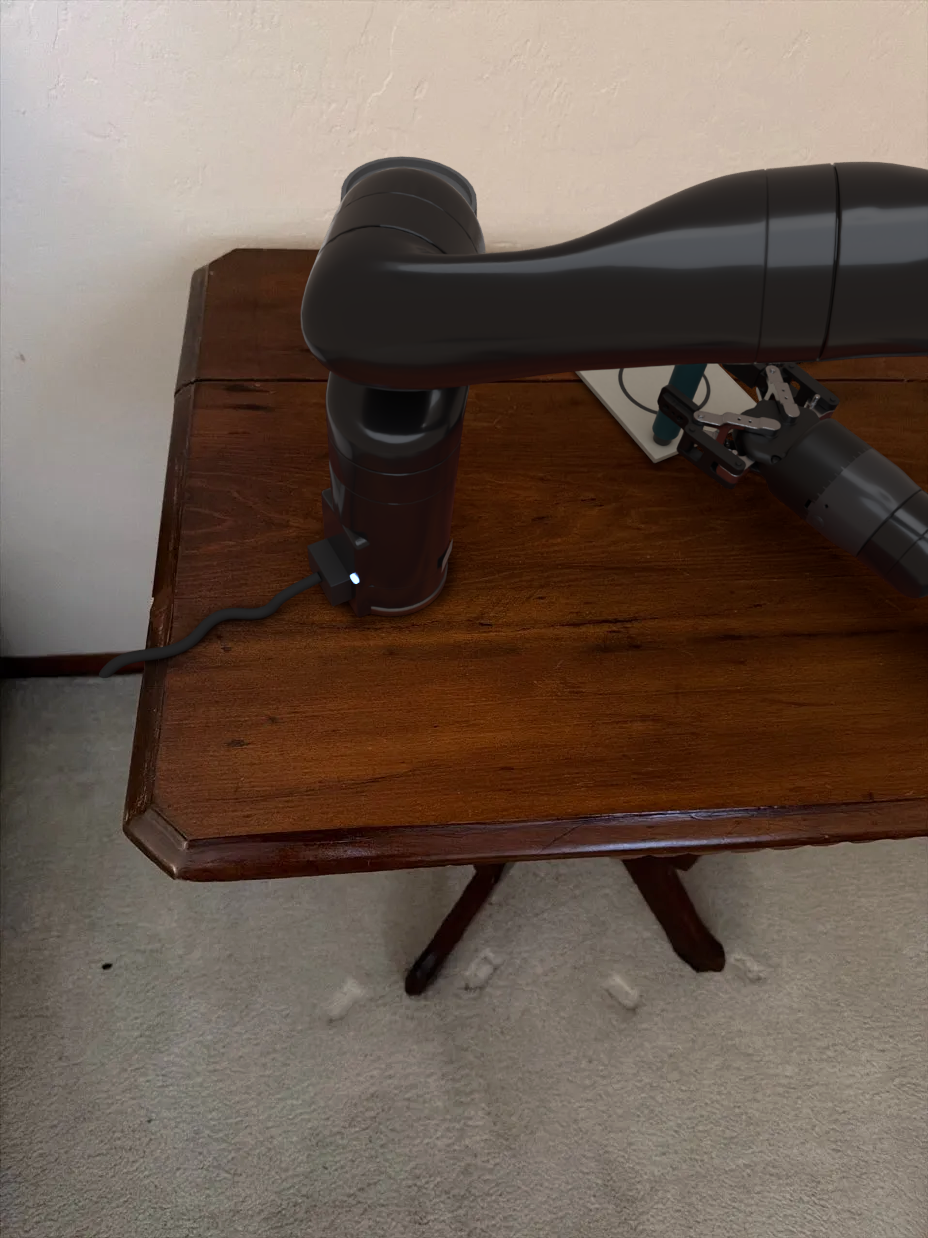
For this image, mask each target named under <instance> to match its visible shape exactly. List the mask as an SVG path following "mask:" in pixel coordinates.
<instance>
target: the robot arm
mask: <svg viewBox="0 0 928 1238" xmlns="http://www.w3.org/2000/svg"><path fill="white" fill-rule="evenodd" d="M340 201H341V200H340ZM301 300H302V301H301V307H300V328H301V334H302V336H303V339H304V343H305V344H306V347H307V348H308V350H309V351H310V353H311V355H312V356H313V357H314V358H315V359H316V360H317V362H318V363H319V364H321V366H323V367H324V368H325V369H327V370H328V377H327V382H326V387H325V388H326V389H325V396H324V397H325V398H324V399H325V400H324V405H325V409H324V410H325V422H326V423H325V424H326V433H327V448H328V449H327V450H328V467H329V468H328V469H329V483H330V484H329V485H330V487H327V488H325V489H323V490H321V492H320V499H321V511H322V522H323V523H322V525H323V535H324V537H323V539H321V540H318V541H316V542H313V543H310V544H308V545H306V548H307V556H308V566H309V569H310V570H311V572H312V573H311V574H310V575H308V576H305V577H304V578H302V579H300V580H298V581H296V582H293V584H290V585H289V586H287V587H286V588H284V589H281V591H279V592H278V593H277V594H275V595H274V596H273V597H272V598H271V600H269V602H267V603H266V604H264V605H262V606H259V607H251V608H249V607H228V608H222V609H219V610H216V611H214V612H212V613H210V614H209V615H208V616H206V617H205V618H204V619H202V620H201V622H200V623H198V625H197V626H196V627H195V628H194V629H193V630H192V631H191V633H189V634H188V635H187V636H186V637H184V638H183V639H181V640H179V641H177V642H174V643H171V644H168V645H164V646H158V647H152V648H151V647H150V648H144V649H137V650H136V649H135V650H132V651H128V652H124V653H121V654H119V655H117V656H115V657H114V658H112V659H110V660H109V661H108V662H106V664H105V665H104V666H103V667H102V668H101V670H100V671H99V673H98V676H99V678H101V679H108V678H110V677H112V676H113V675H114V674H115V673H117V672H118V671H119V670H121V669H122V668H124V667H126V666H128V665H132V664H136V663H141V662H142V663H143V662H149V661H157V660H162V659H167V658H171V657H174V656H175V657H176V656H178V655H181V654H182V653H185V652H187V651H189V650H190V649H192V648H193V647H195V646H196V645H197V644H198V643H199V642H200V641H201V640H202V639H203V638H204V637H205V636H206V635H207V634H208V632H209V631H210V630H211V629H213V627H215V626H216V625H218V624H220V623H222V622H225V621H229V620H247V621H248V620H249V621H253V620H262V619H264V618H268V617H270V616H272V615H273V614H275V613H276V612H277V611H278V610H279V609H280V607H281V606H282V605H284V604H285V603H286V602H288V601H290V600H291V599H293V598H294V597H296V596H298V595H300V594H301V593H304V592H305V591H307V590H310V589H311V588H313V587H315V586H317V585H319V586H320V588H321V590H322V591H323V593H324V595H325V597H326V598H327V600H328V602H329V604H330V605H331V607H336V606H338V605H341V604H343V603H345V602H348V604H349V605H350V607H351V609H352V610H353V613H354V614H355V616H356V617H357V618H362V617H364V616H367V615H370V614H371V615H372V614H373V615H377V616H381V617H402V616H408V615H411V614H414V613H417V612H419V611H420V610H423V609H425V608H426V607H428V606H429V605H431V603H433V602H434V601H435V600H436V599H437V598H438V597H439V595H440V594H441V593H442V591H443V589H444V587H445V585H446V581H447V576H448V568H449V567H448V566H449V565H448V559H449V556H450V554H451V552H452V550H453V549H452V548H453V541H454V538H452V539H450V538H451V531H452V523H453V522H452V521H453V513H454V505H455V496H456V487H457V480H458V470H459V460H460V454H461V446H462V445H461V444H462V439H463V431H464V421H465V416H466V411H467V410H466V409H467V405H468V404H467V403H468V398H469V393H470V387H471V386H475V385H476V386H477V385H482V384H489V383H495V382H503V381H510V380H517V379H525V378H530V377H531V378H532V377H538V376H546V375H547V376H548V375H555V374H562V373H563V374H564V373H576V371H591V370H610V369H624V368H641V367H655V366H672V365H689V364H718V365H721V366H722V369H723V370H725V371H727V372H728V373H729V374H731V375H732V376H733V377H735V378H736V379H737V380H739V382H741V383H743V384H744V385H745V386H746V387H748V388H749V389H750V390H753V389H754V388H755V387H756V389H755V392H756V395H757V399H758V402H756V406H755V407H754V408H751V409H747V410H745V411H744V412H742V413H741V414H736V413H731V412H726V413H724V414H722V415H718V414H714V413H709V412H705V411H699V410H700V408H701V407H700V406H698V405H697V404H696V403H695V402H693V401H692V400H691V399H690V398H688V397H687V396H686V395H685V394H683V393H682V392H681V391H680V390H678V389H677V388H676V387H675V386H673V385H672V384H668V385H666V386H664V387H663V388H662V389H661V391H660V394H659V397H658V400H657V403H658V408H659V409H660V411H661V412H662V413H663V414H665V415H666V416H667V417H668V418H670V419H671V420H672V421H673V422H674V423H676V424H677V425H678V426H679V427H680V428H682V430H683V434H682V436H681V439H680V441H679V443H678V446H677V448H676V450H677V452H678V453H679V455H681V456H682V457H683V458H684V459H686V460H687V461H688V462H689V463H691V464H692V465H694V466H695V467H696V468H698V469H699V470H700V471H701V472H703V473H704V474H705V475H707V476H708V477H709V478H711V479H713V481H715V482H716V483H718V484H719V485H720V486H722V487H723V488H724V489H726V490H734V489H735V488H736V487H737V485H738V483H739V481H740V479H741V478H742V477H743V476H744V475H746V474H747V473H748V472H752V473H755V474H756V475H759V476H760V477H762V478H763V479H764V481H765V483H766V486H767V491H768V492H769V493H770V494H771V495H772V496H773V497H775V498H776V499H777V500H779V501H780V502H781V503H782V504H783V505H785V506H786V507H787V508H788V509H790V510H791V511H792V512H793V513H794V514H795V515H797V516H798V517H799V518H801V519H802V520H803V521H804V522H805V523H807V524H808V525H809V526H811V528H813V529H814V530H815V531H817V532H818V533H819V534H820V535H822V537H824V538H825V539H826V540H828V541H829V542H830V543H832V544H834V545H835V546H837V547H838V548H839V549H841V550H843V551H844V552H846V553H848V554H850V555H851V556H852V557H853V558H857V560H858V561H859V562H860V563H861V564H863V566H865V567H866V568H867V569H868V570H869V571H871V572H872V573H873V574H875V575H876V576H877V577H878V578H880V579H881V580H883V582H884V583H886V584H887V585H889V586H890V587H891V588H892V589H893V590H895V591H896V592H898V593H899V594H901V595H902V596H904V597H906V598H909V599H913V600H916V599H917V600H918V599H922V598H925V597H928V492H927V491H925V490H924V489H923V488H922V487H920V486H919V485H918V484H917V483H916V482H915V481H914V480H913V479H912V478H911V477H909V475H908V474H907V472H905V471H904V470H903V469H902V468H900V467H899V466H898V465H897V464H895V463H894V462H893V461H892V460H890V459H889V458H887V457H886V456H885V455H884V454H882V453H881V452H880V451H878V450H877V449H875V448H874V447H872V446H871V445H870V444H869V443H867V442H866V441H865V440H863V438H861V437H859V436H858V435H856V434H855V433H854V432H852V431H851V430H850V429H848V427H846V426H845V425H843V424H842V423H840V421H838V420H837V419H835V418H832V416H833V415H834V412H835V411H836V409H837V408H838V406H839V405H840V402H841V400H840V398H839V397H838V396H836V395H835V394H834V393H833V392H832V391H830V389H828V388H827V387H825V385H823V384H822V383H820V382H819V381H818V380H817V379H816V378H814V377H813V376H812V375H811V374H809V373H808V372H807V371H805V370H804V369H803V368H802V367H801V366H800V365H798V363H815V362H818V363H819V362H820V363H821V362H834V361H845V360H846V361H847V360H858V359H859V360H860V359H875V358H919V357H920V358H923V357H924V358H925V357H927V358H928V169H927V168H923V167H917V166H913V165H905V164H898V163H894V162H882V161H840V162H839V161H838V162H837V161H836V162H833V163H830V162H825V163H813V164H801V165H791V166H781V167H770V168H768V167H767V168H766V169H765V168H760V169H752V170H747V171H740V172H734V173H730V174H725V175H722V176H719V177H718V176H717V177H715V178H712V179H709V180H706V181H703V182H700V183H697V184H695V185H691V186H689V187H687V188H684V189H683V190H680V191H678V192H676V193H672V194H671V195H668V196H666V197H664V198H661V199H659V200H657V201H655V202H653V203H651V204H648V205H647V206H645V207H642V208H640V209H638V210H635V211H634V212H632V213H630V214H628V215H626V216H624V217H622V218H620V219H618V220H616V221H614V222H612V223H610V224H608V225H606V226H603V227H601V228H599V229H596V230H593V231H592V232H589V233H587V234H584V235H581V236H578V237H575V238H573V239H572V238H571V239H569V240H566V241H564V242H559V243H554V244H552V245H547V246H541V247H536V248H528V249H521V250H507V251H494V252H493V251H492V252H487V250H486V242H485V236H484V233H483V229H482V227H481V223H480V221H479V219H478V216H477V217H476V215H475V213H474V211H473V210H472V208H471V207H470V205H469V204H468V202H467V201H466V200H465V198H464V197H463V196H462V195H461V194H460V193H459V192H458V191H457V190H456V189H455V188H454V187H453V186H451V185H450V184H449V183H447V182H446V181H444V180H443V179H441V178H439V177H437V176H435V175H433V174H431V173H428V172H425V171H422V170H418V169H413V168H390V169H386V170H382V171H379V172H376V173H374V174H372V175H370V176H368V177H366V178H364V179H363V180H361V181H360V182H359V183H357V184H356V185H355V186H354V187H353V188H352V189H351V190H350V191H349V192H348V193H347V194H346V195H345V197H344V198H343V200H342V201H341V203H340V202H339V205H338V207H337V209H336V210H335V213H334V214H333V217H332V219H331V222H330V224H329V227H328V229H327V231H326V234H325V236H324V238H323V241H322V242H321V246H320V248H319V251H318V253H317V255H316V257H315V259H314V263H313V265H312V267H311V270H310V272H309V276H308V278H307V281H306V283H305V288H304V291H303V294H302V299H301ZM772 363H785V365H784V366H782V367H776V366H772V365H770V366H768V365H766V364H772ZM792 381H794V382H796V383H797V384H798V385H799V389H798V388H796V387H795V386H794V385H793V384H792ZM704 426H706V427H711V428H715V429H717V430H716V431H714V432H711V431H707V430H703V428H704ZM731 429H733V430H732V432H731V437H732V439H728V438H727V437H728V434H730V433H729V431H730V430H731ZM695 444H696V445H698V446H696V447H694V445H695ZM698 447H699V448H700V449H701V450H702V451H703V452H702V451H701V450H700V449H698ZM450 540H451V542H450Z"/></svg>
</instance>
